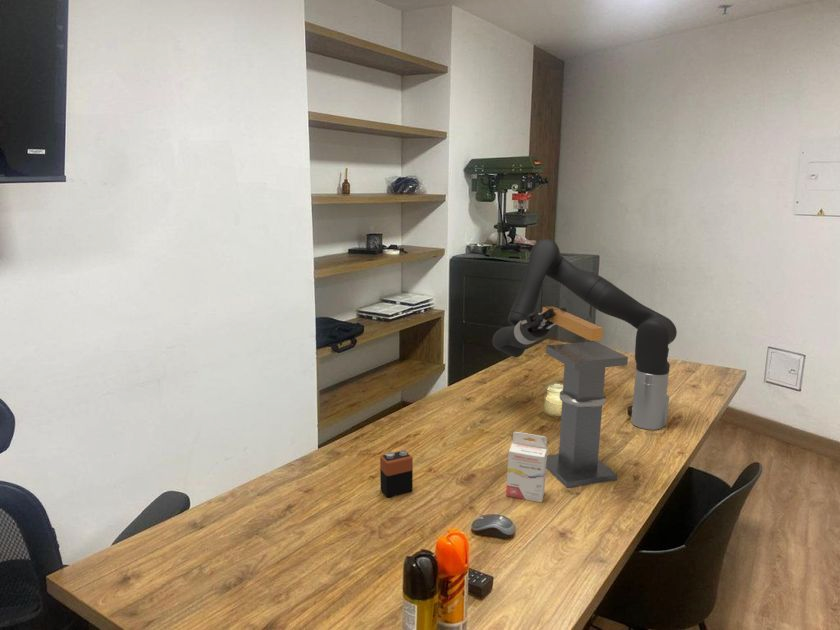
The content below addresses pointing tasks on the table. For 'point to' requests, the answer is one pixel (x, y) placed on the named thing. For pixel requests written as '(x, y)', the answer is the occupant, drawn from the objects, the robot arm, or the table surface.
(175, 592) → the table surface
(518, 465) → the ink cartridge box
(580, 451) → the stand
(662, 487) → the table surface
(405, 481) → the battery
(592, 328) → the bar
